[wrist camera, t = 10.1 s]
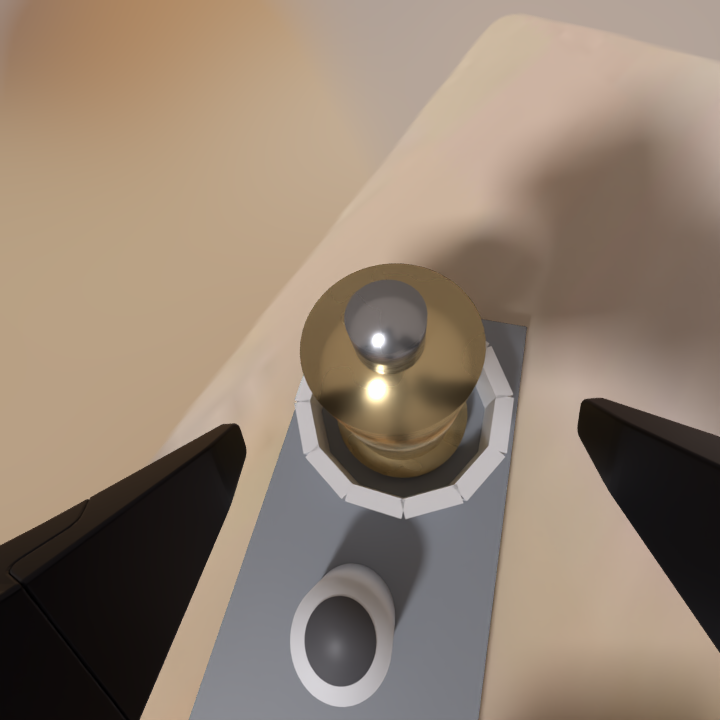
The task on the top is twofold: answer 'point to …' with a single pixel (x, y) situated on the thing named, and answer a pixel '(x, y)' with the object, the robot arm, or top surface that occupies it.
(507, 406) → the board
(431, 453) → the gold pepper grinder
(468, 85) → the top surface
